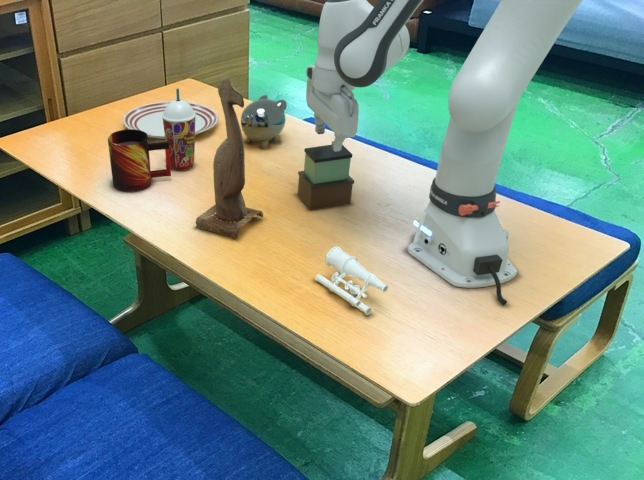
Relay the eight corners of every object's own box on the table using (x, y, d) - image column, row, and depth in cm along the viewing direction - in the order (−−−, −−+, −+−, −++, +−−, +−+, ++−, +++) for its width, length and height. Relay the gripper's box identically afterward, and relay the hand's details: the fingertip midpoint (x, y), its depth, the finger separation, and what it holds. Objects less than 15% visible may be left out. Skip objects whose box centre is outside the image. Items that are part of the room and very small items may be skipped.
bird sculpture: (240, 241, 146) (242, 93, 126) (194, 228, 151) (188, 83, 131) (264, 218, 153) (269, 75, 133) (219, 207, 158) (217, 66, 138)
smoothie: (193, 174, 172) (190, 95, 159) (162, 172, 174) (156, 94, 161) (200, 160, 178) (197, 83, 166) (169, 158, 180) (164, 82, 167)
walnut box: (351, 204, 157) (354, 180, 153) (309, 211, 155) (311, 187, 152) (337, 188, 163) (339, 165, 160) (296, 194, 162) (298, 171, 158)
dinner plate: (184, 103, 211) (183, 92, 209) (237, 130, 193) (237, 118, 191) (106, 125, 199) (105, 113, 197) (156, 155, 181) (155, 144, 179)
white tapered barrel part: (372, 319, 126) (360, 311, 122) (322, 285, 135) (309, 276, 131) (398, 284, 125) (386, 274, 121) (345, 252, 134) (333, 242, 130)
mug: (172, 179, 170) (170, 133, 162) (125, 196, 164) (120, 149, 157) (152, 166, 176) (148, 121, 169) (106, 182, 170) (100, 136, 163)
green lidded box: (349, 179, 154) (352, 154, 150) (312, 184, 152) (315, 159, 149) (338, 167, 159) (341, 143, 155) (302, 172, 157) (304, 148, 154)
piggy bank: (296, 138, 187) (298, 97, 180) (261, 156, 179) (262, 113, 172) (264, 128, 193) (266, 88, 186) (229, 145, 185) (229, 103, 178)
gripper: (370, 94, 134) (360, 159, 143) (330, 62, 150) (323, 122, 159) (340, 97, 133) (332, 162, 142) (303, 64, 149) (298, 125, 158)
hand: (327, 141), depth 151 cm, fingers open, 8 cm apart
